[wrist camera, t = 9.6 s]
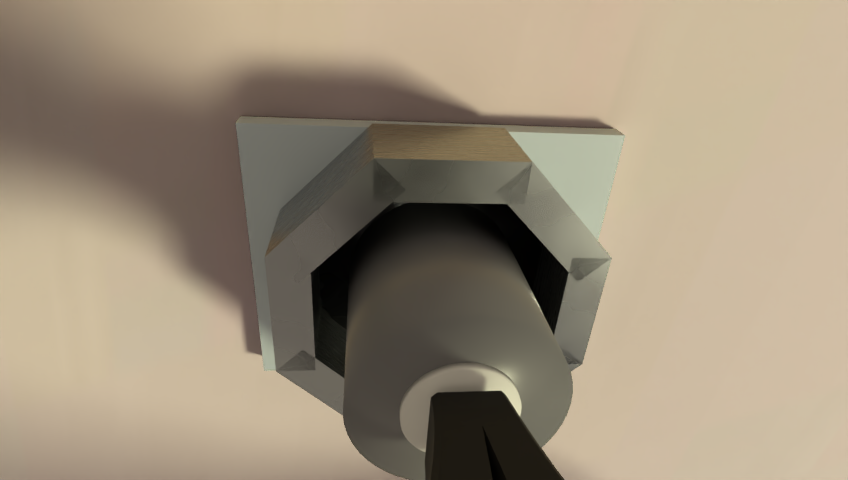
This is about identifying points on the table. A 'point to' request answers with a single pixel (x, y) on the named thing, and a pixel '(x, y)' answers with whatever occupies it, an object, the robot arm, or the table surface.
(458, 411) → the robot arm
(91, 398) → the table surface
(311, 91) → the table surface
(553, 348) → the cap
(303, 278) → the octagonal ring mount
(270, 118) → the plate
